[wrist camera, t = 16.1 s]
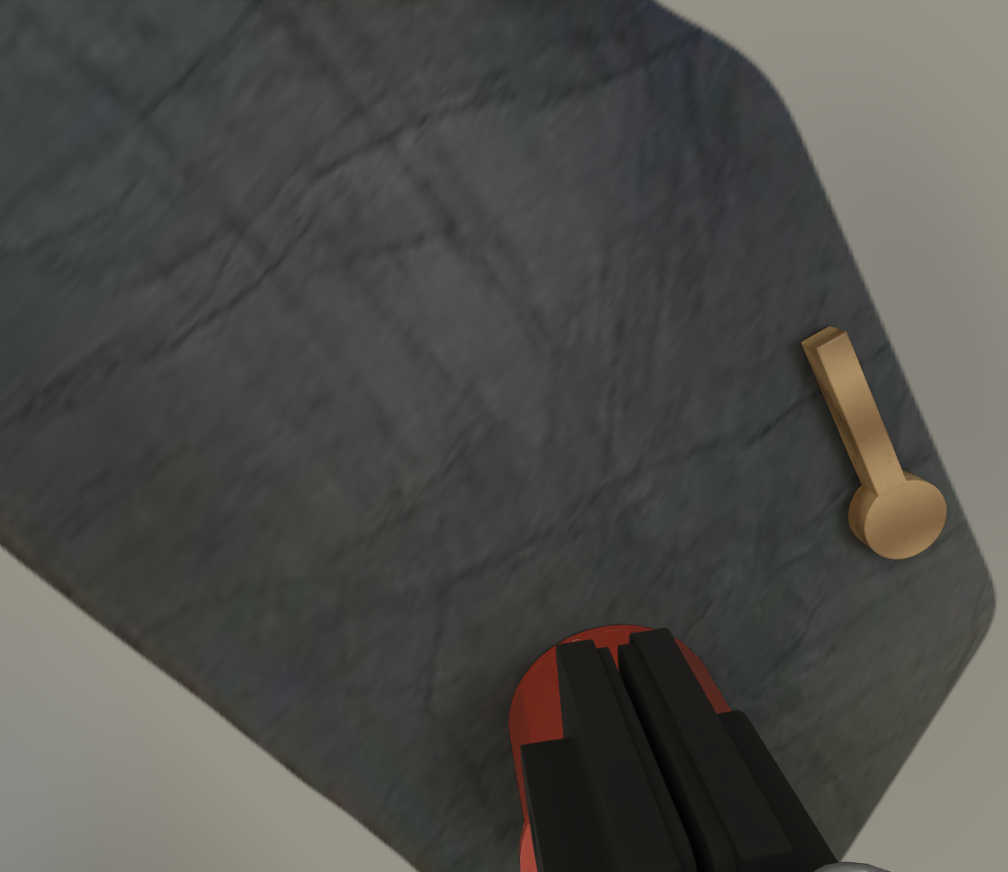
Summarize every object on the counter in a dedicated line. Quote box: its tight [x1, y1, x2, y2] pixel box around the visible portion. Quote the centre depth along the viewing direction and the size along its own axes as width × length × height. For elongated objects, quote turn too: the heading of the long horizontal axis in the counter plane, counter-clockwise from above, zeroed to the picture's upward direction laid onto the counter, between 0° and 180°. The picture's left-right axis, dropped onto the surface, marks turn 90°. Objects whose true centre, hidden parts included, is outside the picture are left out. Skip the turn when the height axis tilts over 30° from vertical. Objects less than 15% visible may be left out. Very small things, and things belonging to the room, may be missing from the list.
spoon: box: [801, 326, 947, 559], centre depth 38 cm, size 13×4×2 cm, turn 29°
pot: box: [508, 625, 731, 825], centre depth 38 cm, size 12×12×8 cm
